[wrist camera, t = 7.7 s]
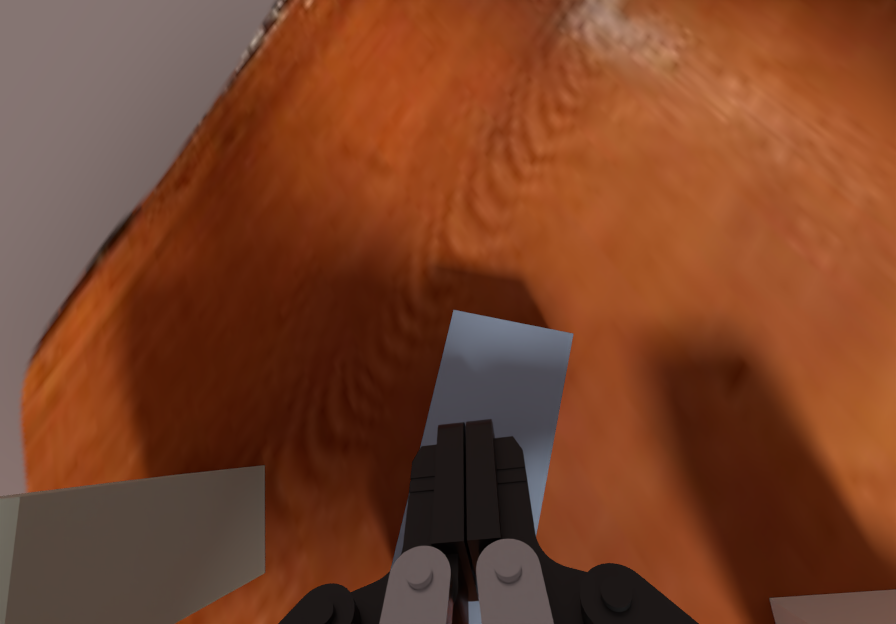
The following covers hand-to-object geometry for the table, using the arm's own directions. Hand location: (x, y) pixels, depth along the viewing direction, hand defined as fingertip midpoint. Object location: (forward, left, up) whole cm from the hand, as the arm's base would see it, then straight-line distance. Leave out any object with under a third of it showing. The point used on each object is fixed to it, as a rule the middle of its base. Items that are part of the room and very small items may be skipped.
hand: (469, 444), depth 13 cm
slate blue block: (+4, +4, -4) cm, 7 cm away
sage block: (+11, -4, -5) cm, 12 cm away
